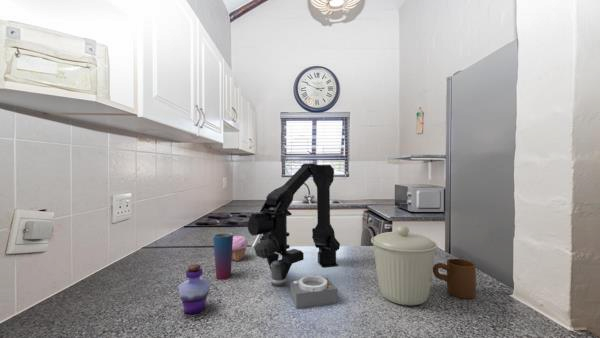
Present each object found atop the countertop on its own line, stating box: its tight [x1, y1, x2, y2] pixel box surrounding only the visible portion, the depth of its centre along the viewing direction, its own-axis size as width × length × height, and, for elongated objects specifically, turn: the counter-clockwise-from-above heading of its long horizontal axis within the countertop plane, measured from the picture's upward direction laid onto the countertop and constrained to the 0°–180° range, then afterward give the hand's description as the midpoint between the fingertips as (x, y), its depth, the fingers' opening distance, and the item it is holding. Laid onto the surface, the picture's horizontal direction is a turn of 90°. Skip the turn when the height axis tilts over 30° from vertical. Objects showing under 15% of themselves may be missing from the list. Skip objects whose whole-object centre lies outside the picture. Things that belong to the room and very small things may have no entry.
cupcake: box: [232, 235, 248, 262], centre depth 114 cm, size 9×9×10 cm
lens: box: [270, 259, 287, 288], centre depth 89 cm, size 5×5×7 cm
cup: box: [212, 232, 234, 281], centre depth 95 cm, size 7×7×15 cm
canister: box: [370, 225, 438, 306], centre depth 79 cm, size 18×18×21 cm
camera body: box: [289, 275, 338, 310], centre depth 78 cm, size 12×8×5 cm
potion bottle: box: [177, 263, 211, 316], centre depth 73 cm, size 9×9×12 cm
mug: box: [432, 258, 477, 300], centre depth 81 cm, size 12×8×9 cm, turn 85°
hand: (278, 277), depth 89 cm, fingers closed on lens, 5 cm apart
